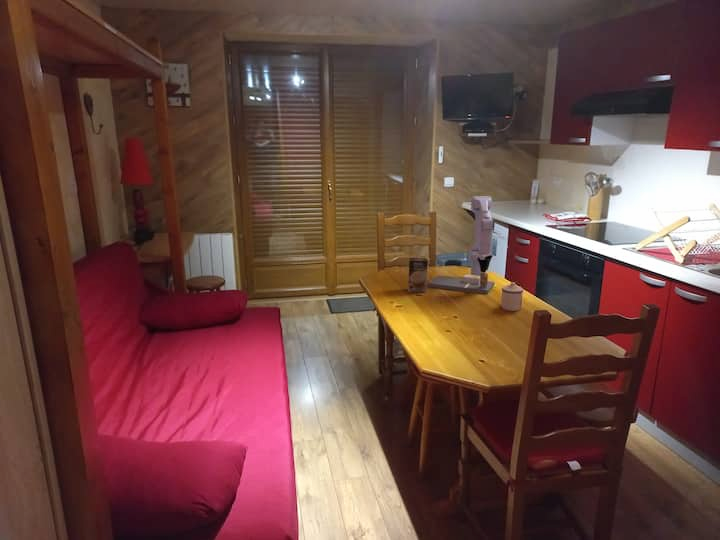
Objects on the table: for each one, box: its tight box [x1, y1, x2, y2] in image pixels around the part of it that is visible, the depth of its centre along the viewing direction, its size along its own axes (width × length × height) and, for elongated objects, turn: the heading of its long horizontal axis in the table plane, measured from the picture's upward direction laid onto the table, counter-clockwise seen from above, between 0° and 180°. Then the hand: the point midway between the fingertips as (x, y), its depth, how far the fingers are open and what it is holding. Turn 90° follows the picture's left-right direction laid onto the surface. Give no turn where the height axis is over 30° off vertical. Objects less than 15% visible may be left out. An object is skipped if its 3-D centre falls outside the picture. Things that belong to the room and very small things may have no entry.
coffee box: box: [407, 257, 429, 293], centre depth 243 cm, size 9×6×16 cm
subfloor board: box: [427, 274, 495, 295], centre depth 251 cm, size 16×30×2 cm, turn 64°
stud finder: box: [462, 274, 480, 284], centre depth 250 cm, size 5×8×3 cm, turn 63°
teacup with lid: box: [500, 281, 524, 312], centre depth 218 cm, size 12×9×12 cm
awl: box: [480, 272, 489, 288], centre depth 241 cm, size 4×4×7 cm
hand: (484, 271), depth 240 cm, fingers open, 4 cm apart
